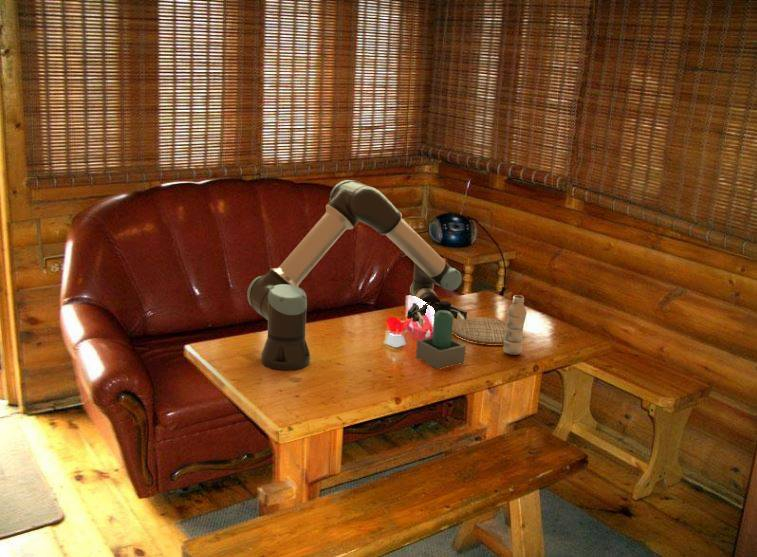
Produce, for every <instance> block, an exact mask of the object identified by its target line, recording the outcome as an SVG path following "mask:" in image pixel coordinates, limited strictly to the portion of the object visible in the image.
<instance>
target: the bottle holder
mask: <svg viewBox="0 0 757 557" xmlns="http://www.w3.org/2000/svg"><path fill="white" fill-rule="evenodd" d="M451 343H452V344H451V348H448V349H444V350H438V349H436V348H434V347H432V346H431V344H432V337H427V338H424V339H418V340H417V341H416V355H415V358H416V359H417V358H419V359H421V360H422V361H421V360H420V361H421V362H423V361H424V362H423V363H425V362H426V363H425V364H427V363H428V364H429V365H428V364H427V365H428V366H430V365H431V366H430V367H432V366H433V368H434V367H435V368H434V369H436V368H437V369H436V370H438V369H439V370H441V369H440V368H443V367H446V366H451V365H455V364H459V363H463V362H464V363H465V358H466V357H465V356H466V345H464V344H462V343H461V342H459V341H457V340H454V339H452V340H451ZM419 359H418V360H419ZM464 363H463V364H464ZM459 365H460V364H459ZM455 366H456V365H455ZM451 367H452V366H451ZM443 369H444V368H443Z"/></svg>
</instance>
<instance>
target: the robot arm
mask: <svg viewBox="0 0 757 557" xmlns="http://www.w3.org/2000/svg"><path fill="white" fill-rule="evenodd" d="M359 222H360V223H363V224H365V225H366V226H369V227H371V228H372V229H374V230H375V231H376V232H377V233H378V234H380V235H382V236H386V237H387V238H388V239H389V240H390V241H391V242H392V243H393V244H395V245H396V247H398V248H399V250H401V251H402V252H403V253H404V254H405V255H406V256H407V257H408V258H410V260H411V261H413V263H414V264H413V279H412V283H411V285H410V287H409V292H410V296H411V297H412V296H416V297H418V298H420V299H422V300H423V301H425V302H427V303H426V304H428V305H430V306H432V307H433V308H434V310H435V313H436V312H438V311H440V309H438V305H439V302H440V301H441V299H440V297H439V296H438V294H436V292H435V291H434V287H435V286H434V285H437V286H439V287H441V288H442V289H443V290H447V291H455V290H456V289H458V288H459V287H460V285H461V284H462V281H463V277H462V273H461V272H460V271H459V270H457V268H454V267H452V266H450V265H449V263H448V262H447V261H446V260H444V259H443V258H442V257H441V255H440V254H439V253H437V252H436V250H434V248H432V246H431V245H429V244H428V242H426V240H425V239H424V238H422V237H421V235H419V234H418V233H417V232H416V231H415V230H414V229H413V228H412V227H411V225H410V224H408V223H407V221H405V220H404V218H403V215H402V212H401V211H400V210H399V209H398V208H397V207H396V206H395V205H394V204H393V203H392V202H391V201H390V200H389V199H388V197H386V196H385V194H383V192H381V191H380V190H379V189H377V188H375V187H373V186H369V185H367V184H365V183H362V182H361V181H357V180H351V179H344V180H342V181H339V182H338V183H337V184H336V185H334V186H333V188H332V190H331V191H330V195H329V201H328V202H327V204H326V205H325V213H324V214H323V215H322V216H321V218H320V219H319V220H318V221H317V222H316V223H315V225H314V226H313V227H312V228H311V229H310V231H309V232H308V233H307V234H306V235H305V237H303V238H302V240H301V241H300V242H299V243H298V244H297V245H296V247H295V248H294V249H293V250H292V251H291V252H290V253H289V255H288V256H287V257H286V258H285V259H284V260H283V262H282V263H281V264H280V265H279V266H278V267H274V268H272V267H271V268H270V269H269V270H268V272H267V273H266V274H265V275H261V276H260V275H259V276H257V277H256V278H254V279H253V280H252V281H251V283H249V286H248V288H247V292H246V294H247V295H246V296H247V302H248V304H249V305H250V306H251V308H252V309H253V310H254V311H255V312H256V313H257V314H259V315H260V316H262V317H263V318H264V319H265V320H266V321H267V338H266V341H265V343H264V347H263V349H262V352H261V362H260V363H262V365H264V366H265V367H267V368H269V367H270V368H269V369H272V368H273V369H274V370H277V369H278V370H279V371H294V370H295V371H296V370H300V369H303V368H305V367H308V366H309V364H310V362H311V353H310V350H309V347H308V342H307V340H306V327H307V326H306V325H307V308H308V300H307V294H306V291H304V289H302V288H301V287H299V285H301V283H302V282H303V280H304V279H305V278H306V277H307V276H308V274H309V273H310V272H311V271H312V269H314V268H315V266H316V265H317V264H318V263H319V261H320V260H321V259H323V257H324V256H325V254H326V253H328V251H329V250H330V249H331V247H333V245H334V244H335V243H336V242H337V240H338V239H339V238H340V237H341V236H342V235H343V234H344V233H345V231H347V230H353V229H354V228H355V227H356V226H357V224H358V223H359ZM426 304H425V305H423V307H422V308H420V309H419V306H418V305H417V303H416V302H413V303H412V306H411V307H410V308H409V309H408V310H407V314H406V315H407V317H406V319H408V320H411V319H412V322H414V323H415V322H417V323H418V325H419V326H420V327H421V328H424V321H425V319H424V317H423V316H425V313H426V309H427V306H428V305H426ZM446 311H449V312H451V313H452V314H453V316H454V318H453V319H456V320H457V321H458V323H459V324H460V325H461V327H464V322H465V319H467V318H468V311H466V310H464V309H461V308H460V307H458V306H456V305H453V304H452V303H451V310H446Z"/></svg>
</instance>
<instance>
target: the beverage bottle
mask: <svg viewBox="0 0 757 557" xmlns="http://www.w3.org/2000/svg"><path fill="white" fill-rule="evenodd" d="M451 304H452V303H451V301H448V300H440V302H439V305H438V309H440V311H438V312H436V313H435V314H434V315H433V325H432V337H431V338H432V344H431V346H432V347H434V348H436V349H438V350H444V349H448V348H451V344H452V343H451V340H453V339H452V338H453V334H452V326H453V322H454V319H455V318H454V316H453V314H452V313H451V312H449V311H446V310H451Z"/></svg>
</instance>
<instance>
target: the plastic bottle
mask: <svg viewBox="0 0 757 557" xmlns="http://www.w3.org/2000/svg"><path fill="white" fill-rule="evenodd" d="M511 302H512V303H511V304H510V306H509V307H508V309H507V311H506V313H507V314H506V316H507V318H506V322H507V332H506V337H505V340H504V344H503V345H502V350H503V351H504V353H505V354H506V355H510V356H512V355H513V356H517V355H520V354H521V353H522V350H523V348H524V347H523V332H524V325H525V321H526V319H527V309H526V307H525V305H524V302H525V297H524V296H523V295H519V294H517V295H515V294H514V295H513V296H512V301H511Z"/></svg>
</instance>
